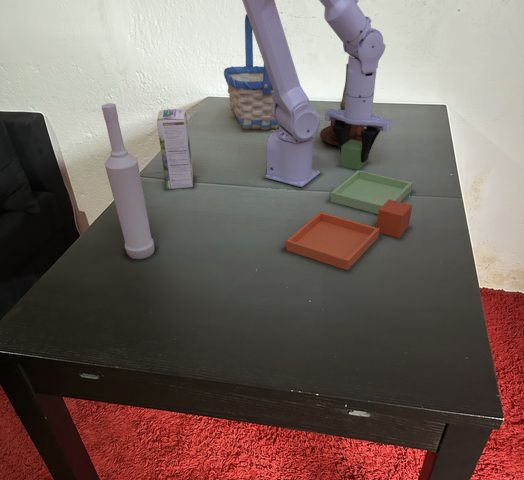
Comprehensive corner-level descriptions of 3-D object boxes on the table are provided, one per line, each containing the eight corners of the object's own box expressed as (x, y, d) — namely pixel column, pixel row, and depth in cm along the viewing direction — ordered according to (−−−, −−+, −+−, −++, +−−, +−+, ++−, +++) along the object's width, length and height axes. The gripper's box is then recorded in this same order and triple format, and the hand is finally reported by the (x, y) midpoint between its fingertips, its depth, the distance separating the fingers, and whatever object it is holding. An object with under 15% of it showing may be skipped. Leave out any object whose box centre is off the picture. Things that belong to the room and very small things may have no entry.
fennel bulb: (359, 116, 140) (364, 67, 132) (341, 117, 140) (344, 67, 132) (356, 109, 144) (360, 60, 136) (338, 109, 144) (341, 61, 136)
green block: (339, 166, 118) (341, 146, 115) (349, 158, 120) (350, 139, 117) (358, 170, 116) (359, 150, 113) (366, 162, 119) (369, 142, 116)
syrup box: (167, 178, 116) (156, 109, 106) (194, 176, 116) (185, 107, 106) (166, 189, 112) (154, 119, 102) (194, 187, 112) (185, 117, 102)
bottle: (160, 246, 95) (132, 101, 78) (147, 261, 92) (114, 113, 75) (135, 242, 97) (102, 98, 80) (121, 257, 93) (83, 110, 76)
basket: (299, 131, 134) (300, 25, 118) (235, 139, 131) (228, 31, 115) (279, 105, 148) (278, 7, 132) (222, 111, 146) (214, 13, 130)
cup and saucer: (377, 137, 129) (380, 111, 125) (356, 154, 122) (359, 127, 118) (333, 128, 134) (335, 103, 130) (311, 145, 127) (311, 118, 123)
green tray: (330, 201, 106) (330, 192, 104) (357, 178, 113) (358, 169, 112) (386, 216, 100) (387, 207, 99) (411, 191, 108) (412, 182, 106)
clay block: (375, 231, 97) (378, 209, 93) (385, 221, 99) (389, 199, 96) (398, 238, 95) (402, 215, 92) (408, 227, 97) (412, 205, 94)
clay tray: (285, 250, 93) (285, 240, 92) (319, 220, 100) (320, 211, 99) (347, 270, 88) (348, 260, 86) (378, 237, 95) (379, 228, 94)
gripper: (400, 93, 107) (391, 158, 116) (337, 83, 113) (333, 145, 123) (386, 103, 103) (378, 170, 112) (321, 92, 109) (319, 156, 118)
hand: (354, 158), depth 117 cm, fingers closed on green block, 4 cm apart
